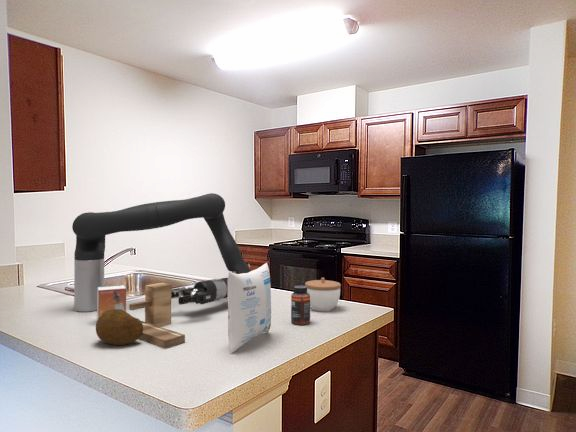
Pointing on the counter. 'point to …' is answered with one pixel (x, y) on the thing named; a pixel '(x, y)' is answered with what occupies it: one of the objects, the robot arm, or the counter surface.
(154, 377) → the counter surface
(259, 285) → the pouch
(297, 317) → the supplement bottle
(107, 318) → the potato
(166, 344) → the walnut board
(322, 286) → the lidded bowl
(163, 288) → the tan block
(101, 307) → the small box
